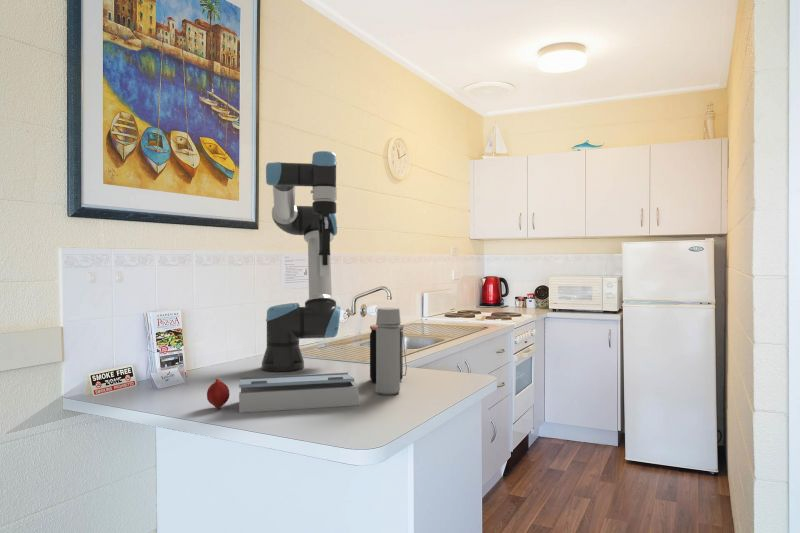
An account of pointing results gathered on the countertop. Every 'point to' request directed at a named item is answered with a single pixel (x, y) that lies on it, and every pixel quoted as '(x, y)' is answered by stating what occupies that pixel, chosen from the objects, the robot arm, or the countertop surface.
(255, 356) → the countertop surface
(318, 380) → the cover
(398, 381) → the water bottle
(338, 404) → the grey tray
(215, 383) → the onion
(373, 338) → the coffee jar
